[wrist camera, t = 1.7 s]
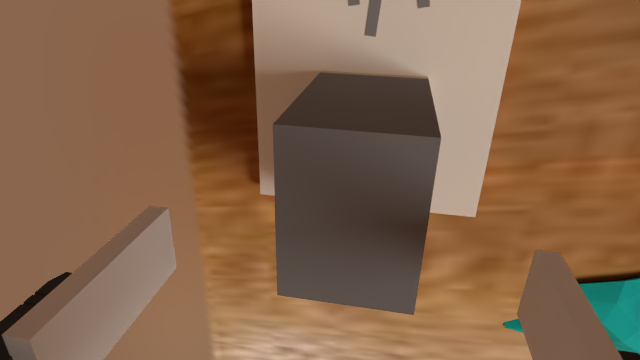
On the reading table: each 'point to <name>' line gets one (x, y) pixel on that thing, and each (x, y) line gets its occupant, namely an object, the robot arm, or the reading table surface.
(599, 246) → the reading table surface
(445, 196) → the board
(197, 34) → the reading table surface
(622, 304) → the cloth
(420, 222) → the block
